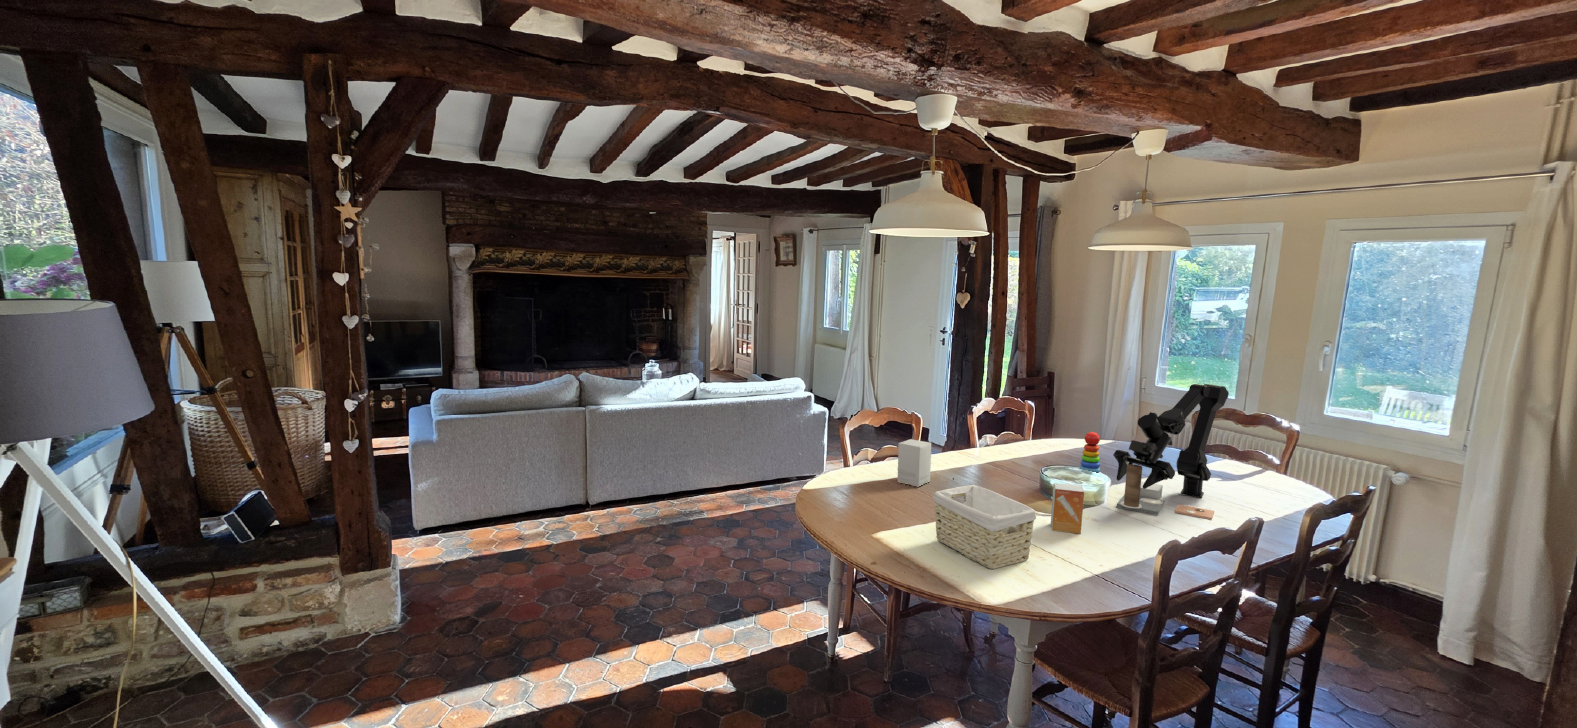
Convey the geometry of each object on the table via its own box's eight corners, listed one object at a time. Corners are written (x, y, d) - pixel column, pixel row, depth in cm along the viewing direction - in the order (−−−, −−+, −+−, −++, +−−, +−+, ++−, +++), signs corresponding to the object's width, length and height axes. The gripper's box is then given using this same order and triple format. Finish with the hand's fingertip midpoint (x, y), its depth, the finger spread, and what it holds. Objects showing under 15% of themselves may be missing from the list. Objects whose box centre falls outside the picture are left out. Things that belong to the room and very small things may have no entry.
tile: (1178, 505, 220) (1178, 503, 220) (1214, 512, 214) (1214, 510, 214) (1175, 512, 214) (1175, 510, 214) (1211, 519, 208) (1211, 517, 208)
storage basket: (1036, 562, 175) (1039, 508, 173) (990, 574, 168) (993, 518, 166) (972, 531, 196) (974, 482, 194) (929, 540, 189) (931, 490, 187)
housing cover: (1136, 491, 234) (1136, 480, 234) (1161, 496, 229) (1162, 485, 229) (1131, 497, 228) (1132, 486, 227) (1157, 502, 223) (1158, 490, 223)
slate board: (1124, 496, 228) (1125, 493, 228) (1164, 504, 221) (1164, 500, 221) (1115, 508, 217) (1115, 504, 217) (1156, 516, 210) (1157, 512, 209)
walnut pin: (1128, 501, 220) (1132, 463, 218) (1141, 505, 216) (1145, 466, 214) (1120, 503, 217) (1124, 465, 216) (1133, 507, 214) (1137, 468, 212)
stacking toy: (1103, 485, 240) (1106, 435, 238) (1079, 484, 242) (1083, 434, 240) (1097, 479, 248) (1101, 430, 246) (1074, 478, 250) (1078, 429, 247)
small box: (1051, 530, 197) (1054, 488, 195) (1050, 523, 203) (1053, 482, 201) (1081, 534, 195) (1084, 491, 193) (1079, 526, 201) (1082, 484, 199)
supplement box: (930, 482, 242) (932, 442, 240) (918, 488, 235) (920, 447, 233) (909, 477, 248) (910, 438, 246) (896, 482, 241) (897, 442, 239)
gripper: (1118, 425, 224) (1094, 461, 220) (1172, 438, 207) (1147, 476, 204) (1132, 446, 228) (1108, 481, 225) (1185, 459, 212) (1161, 497, 208)
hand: (1130, 483), depth 215 cm, fingers open, 9 cm apart
